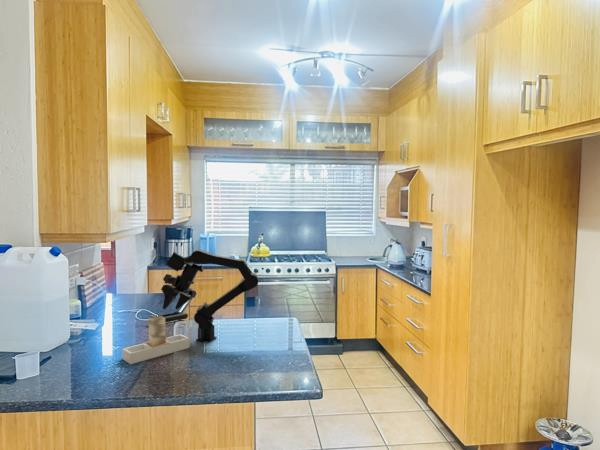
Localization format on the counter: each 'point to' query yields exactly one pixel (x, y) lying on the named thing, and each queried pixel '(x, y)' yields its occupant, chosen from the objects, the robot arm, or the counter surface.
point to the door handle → (173, 316)
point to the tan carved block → (157, 331)
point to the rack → (154, 349)
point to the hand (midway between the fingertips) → (170, 309)
